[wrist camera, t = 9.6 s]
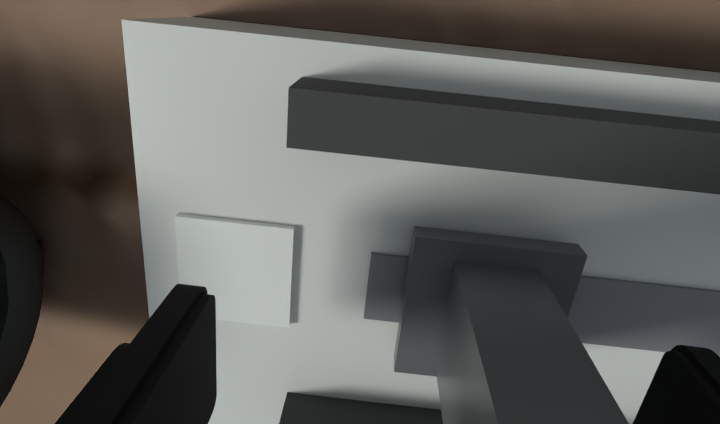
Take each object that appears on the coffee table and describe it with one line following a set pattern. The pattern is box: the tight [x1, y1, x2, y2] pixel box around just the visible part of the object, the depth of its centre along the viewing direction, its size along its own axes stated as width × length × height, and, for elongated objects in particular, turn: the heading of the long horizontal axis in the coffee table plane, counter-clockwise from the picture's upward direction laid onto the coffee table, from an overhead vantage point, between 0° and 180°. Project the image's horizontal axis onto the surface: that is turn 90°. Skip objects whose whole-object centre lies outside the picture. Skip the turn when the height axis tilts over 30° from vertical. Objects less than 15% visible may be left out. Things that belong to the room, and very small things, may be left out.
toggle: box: [394, 226, 629, 424], centre depth 9 cm, size 4×4×8 cm
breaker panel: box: [122, 17, 720, 424], centre depth 14 cm, size 12×26×4 cm, turn 84°
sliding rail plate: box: [279, 77, 720, 424], centre depth 12 cm, size 10×18×2 cm, turn 84°
